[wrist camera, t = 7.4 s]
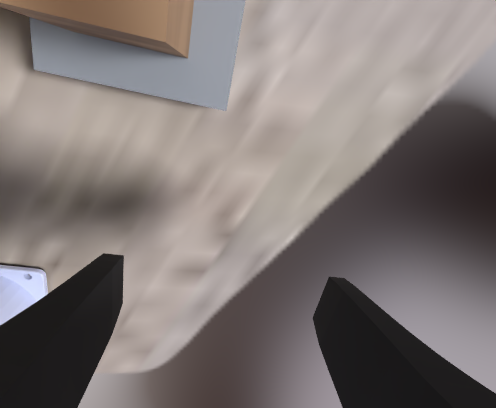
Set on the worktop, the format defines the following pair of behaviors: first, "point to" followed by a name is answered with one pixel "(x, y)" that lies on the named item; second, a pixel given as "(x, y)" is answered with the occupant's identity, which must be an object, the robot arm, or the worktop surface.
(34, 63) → the gray slab
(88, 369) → the robot arm
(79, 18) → the walnut cube
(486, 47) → the worktop surface
